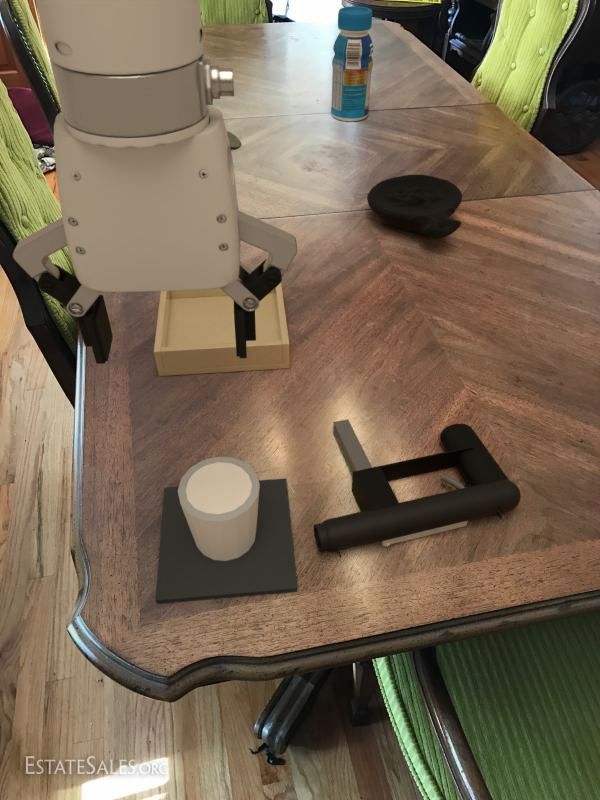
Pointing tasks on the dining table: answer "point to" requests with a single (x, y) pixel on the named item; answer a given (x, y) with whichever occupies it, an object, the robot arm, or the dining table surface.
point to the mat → (247, 575)
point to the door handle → (421, 515)
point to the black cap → (417, 204)
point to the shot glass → (221, 506)
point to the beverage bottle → (352, 64)
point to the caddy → (217, 334)
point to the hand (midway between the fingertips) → (174, 348)
